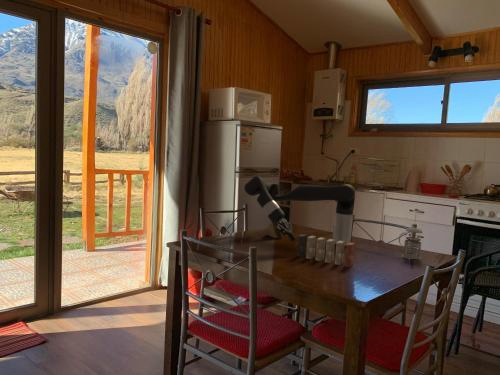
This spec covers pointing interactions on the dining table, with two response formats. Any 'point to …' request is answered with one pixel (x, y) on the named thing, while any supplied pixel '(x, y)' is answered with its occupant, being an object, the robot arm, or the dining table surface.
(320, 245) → the domino
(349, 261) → the domino
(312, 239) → the domino
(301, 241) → the domino
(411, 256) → the french press
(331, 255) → the domino
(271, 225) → the rock
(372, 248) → the dining table surface
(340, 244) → the domino
